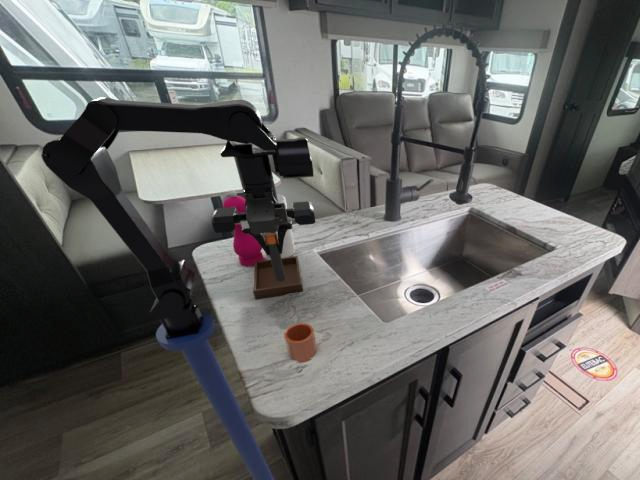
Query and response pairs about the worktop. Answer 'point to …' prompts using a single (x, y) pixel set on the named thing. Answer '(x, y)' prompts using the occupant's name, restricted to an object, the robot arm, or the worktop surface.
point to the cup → (286, 236)
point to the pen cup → (301, 342)
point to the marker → (275, 256)
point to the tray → (267, 283)
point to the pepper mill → (243, 235)
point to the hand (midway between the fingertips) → (274, 253)
